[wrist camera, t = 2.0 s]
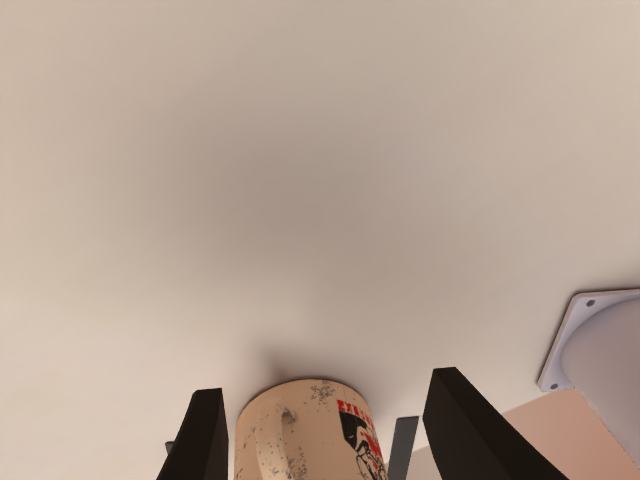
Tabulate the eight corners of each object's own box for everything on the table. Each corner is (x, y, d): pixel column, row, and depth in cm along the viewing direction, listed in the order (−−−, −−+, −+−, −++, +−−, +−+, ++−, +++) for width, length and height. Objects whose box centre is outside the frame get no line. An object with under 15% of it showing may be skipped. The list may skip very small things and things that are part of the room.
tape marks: (418, 416, 29) (419, 417, 29) (399, 505, 35) (399, 506, 35) (165, 442, 27) (165, 444, 27) (188, 532, 33) (188, 534, 33)
